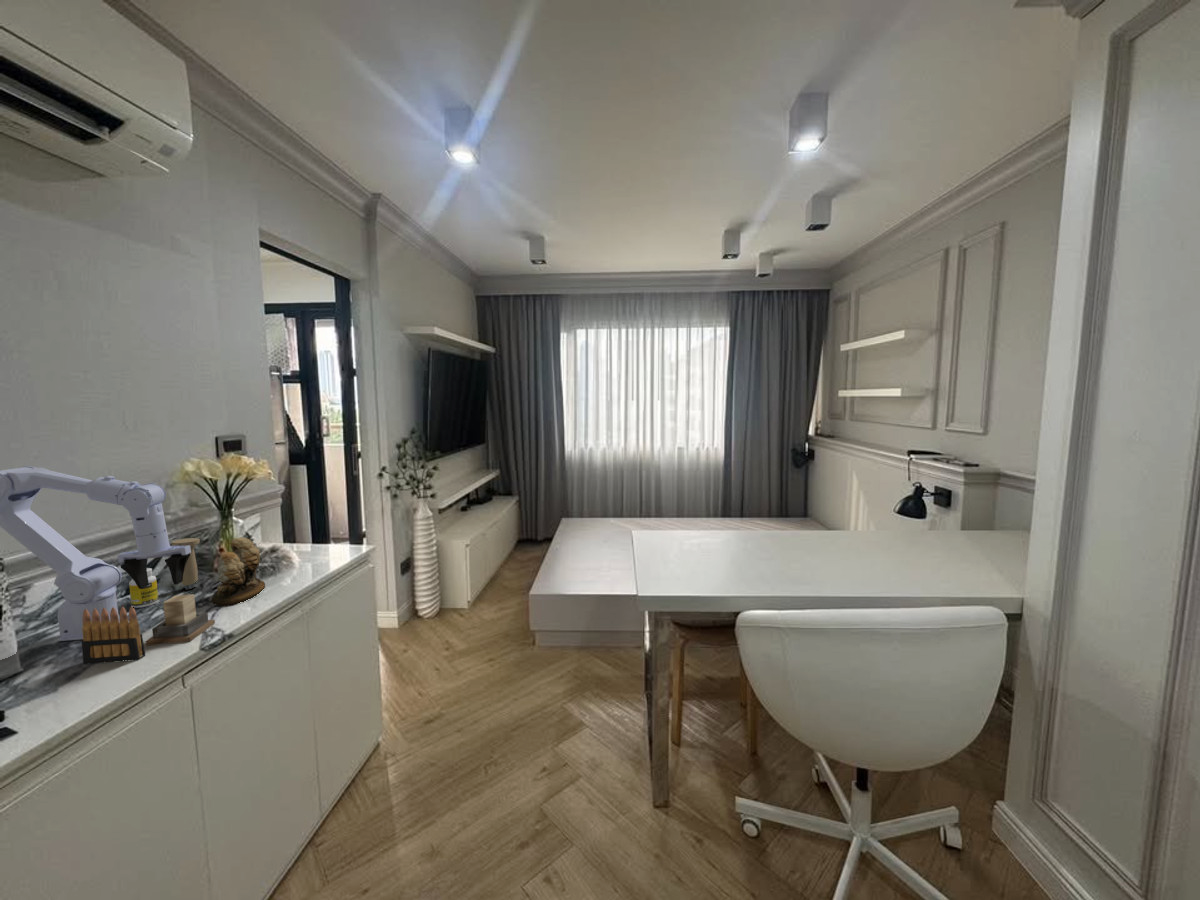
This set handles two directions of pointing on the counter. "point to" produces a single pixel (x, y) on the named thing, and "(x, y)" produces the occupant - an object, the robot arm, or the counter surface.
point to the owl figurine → (238, 574)
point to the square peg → (179, 609)
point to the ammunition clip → (111, 637)
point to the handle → (189, 560)
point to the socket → (180, 630)
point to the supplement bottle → (144, 592)
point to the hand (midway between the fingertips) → (161, 585)
